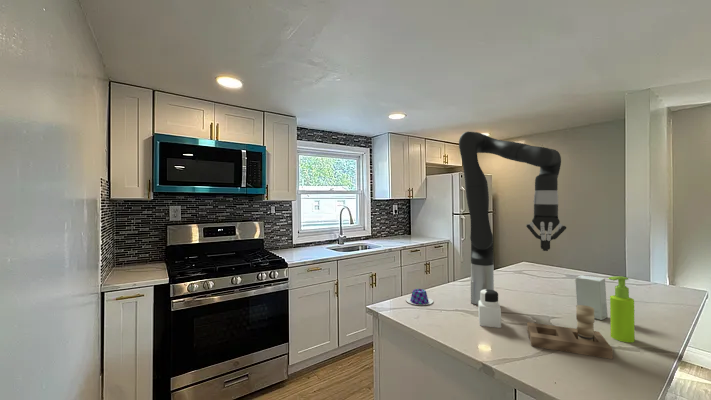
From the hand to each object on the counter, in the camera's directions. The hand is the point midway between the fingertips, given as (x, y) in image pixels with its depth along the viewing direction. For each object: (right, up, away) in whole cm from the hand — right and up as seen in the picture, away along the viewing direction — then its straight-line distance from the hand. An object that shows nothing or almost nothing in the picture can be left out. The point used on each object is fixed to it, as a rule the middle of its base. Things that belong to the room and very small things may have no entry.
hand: (545, 250), depth 112 cm
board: (-3, -27, -16) cm, 31 cm away
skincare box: (+22, -27, +7) cm, 35 cm away
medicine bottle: (-20, -27, +1) cm, 34 cm away
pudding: (-41, -28, +26) cm, 55 cm away
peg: (+1, -27, -18) cm, 32 cm away
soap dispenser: (+17, -27, -13) cm, 34 cm away
